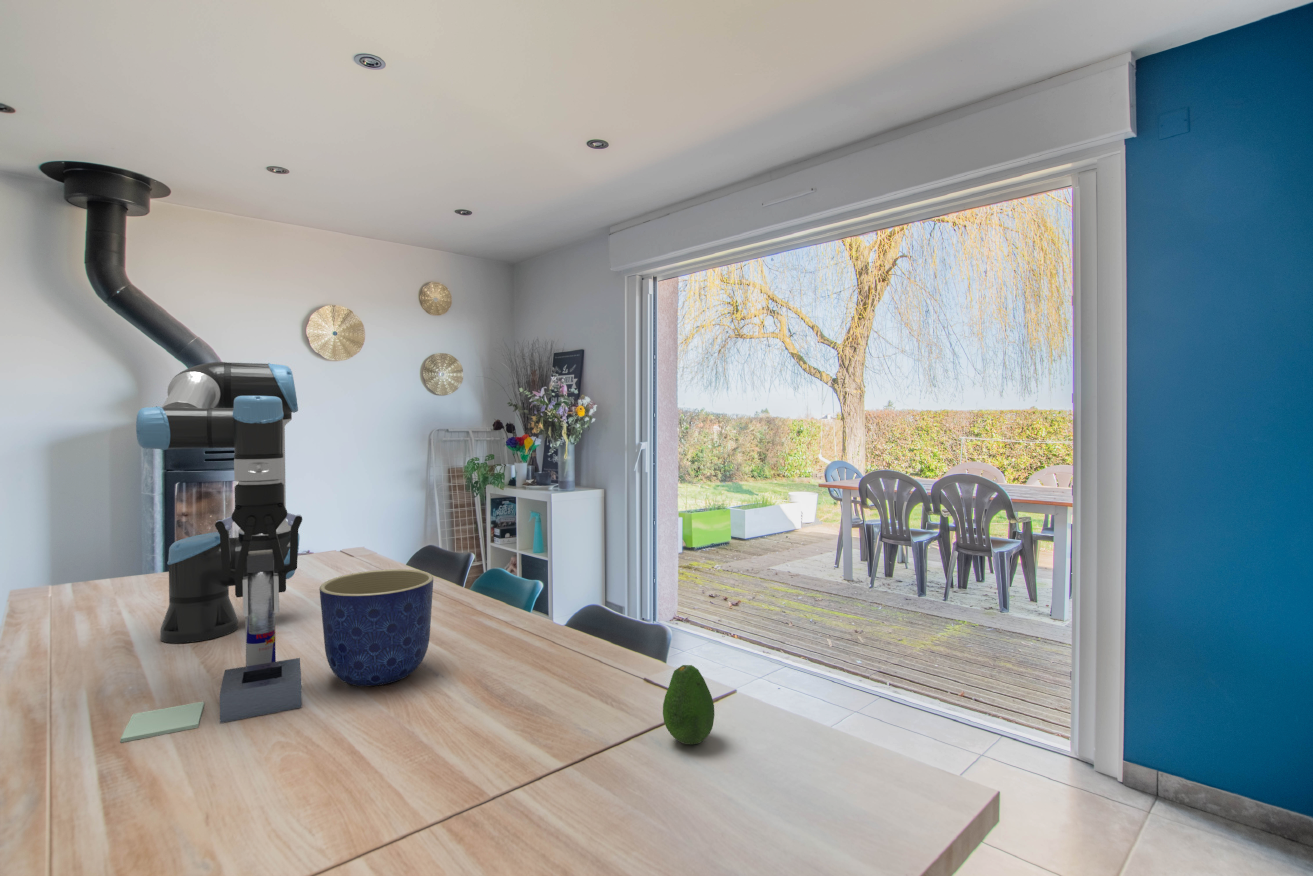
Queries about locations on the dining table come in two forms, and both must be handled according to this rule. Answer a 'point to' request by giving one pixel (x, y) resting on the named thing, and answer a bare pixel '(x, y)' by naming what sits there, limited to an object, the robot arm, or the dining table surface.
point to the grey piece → (261, 591)
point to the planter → (376, 624)
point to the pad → (163, 721)
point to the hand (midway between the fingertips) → (261, 612)
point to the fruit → (688, 706)
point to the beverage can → (259, 647)
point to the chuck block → (260, 690)
